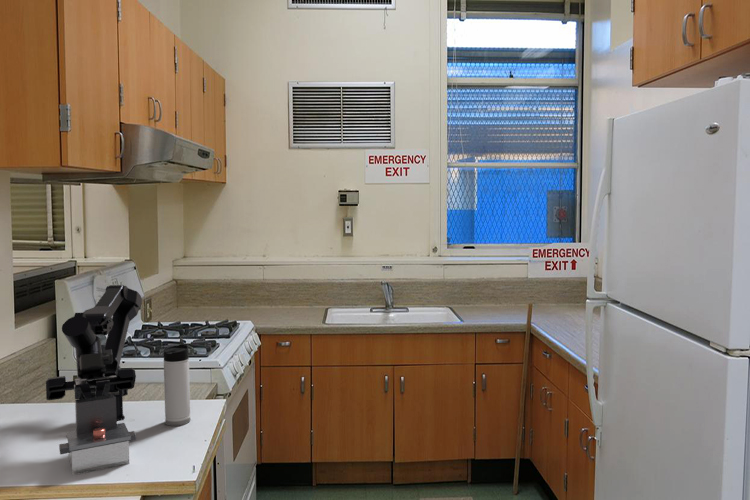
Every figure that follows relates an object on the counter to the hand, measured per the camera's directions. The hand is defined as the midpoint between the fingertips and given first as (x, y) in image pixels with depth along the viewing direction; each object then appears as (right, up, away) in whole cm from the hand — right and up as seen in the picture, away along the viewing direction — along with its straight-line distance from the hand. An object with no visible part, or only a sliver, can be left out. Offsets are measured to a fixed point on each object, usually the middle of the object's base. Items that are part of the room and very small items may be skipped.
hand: (94, 416), depth 132 cm
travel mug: (+12, -8, +21) cm, 26 cm away
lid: (+3, -4, -4) cm, 6 cm away
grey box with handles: (+3, -9, -4) cm, 10 cm away
